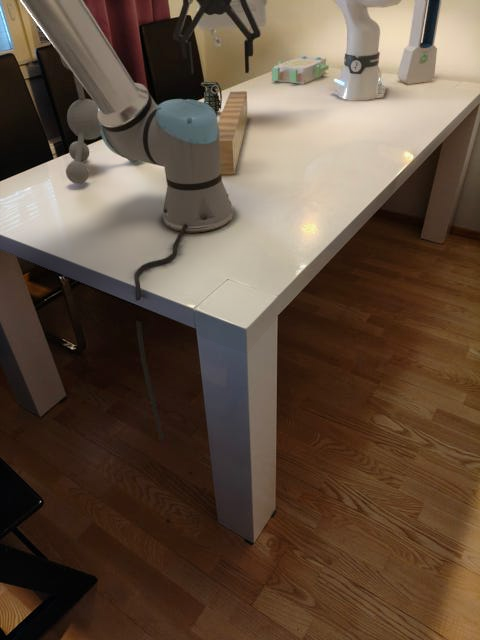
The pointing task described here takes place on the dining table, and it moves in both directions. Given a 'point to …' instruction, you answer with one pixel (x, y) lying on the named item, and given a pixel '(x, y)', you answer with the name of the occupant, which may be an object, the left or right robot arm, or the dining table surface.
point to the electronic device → (421, 44)
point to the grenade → (212, 95)
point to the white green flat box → (299, 70)
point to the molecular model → (81, 132)
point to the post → (232, 130)
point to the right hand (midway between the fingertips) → (233, 45)
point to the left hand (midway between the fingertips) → (219, 72)
